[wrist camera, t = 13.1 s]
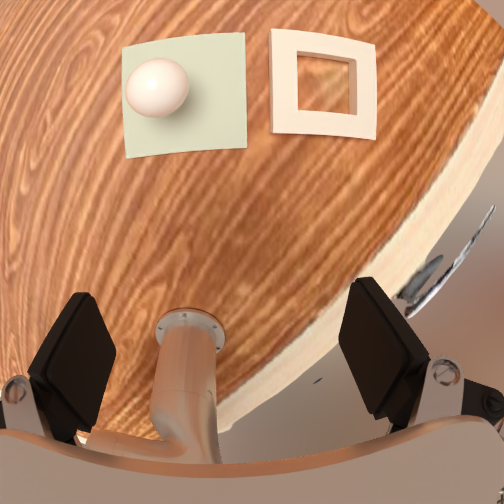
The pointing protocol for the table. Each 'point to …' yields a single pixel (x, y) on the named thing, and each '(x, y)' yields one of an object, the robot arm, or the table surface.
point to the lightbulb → (157, 87)
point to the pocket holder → (286, 90)
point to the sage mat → (192, 96)
